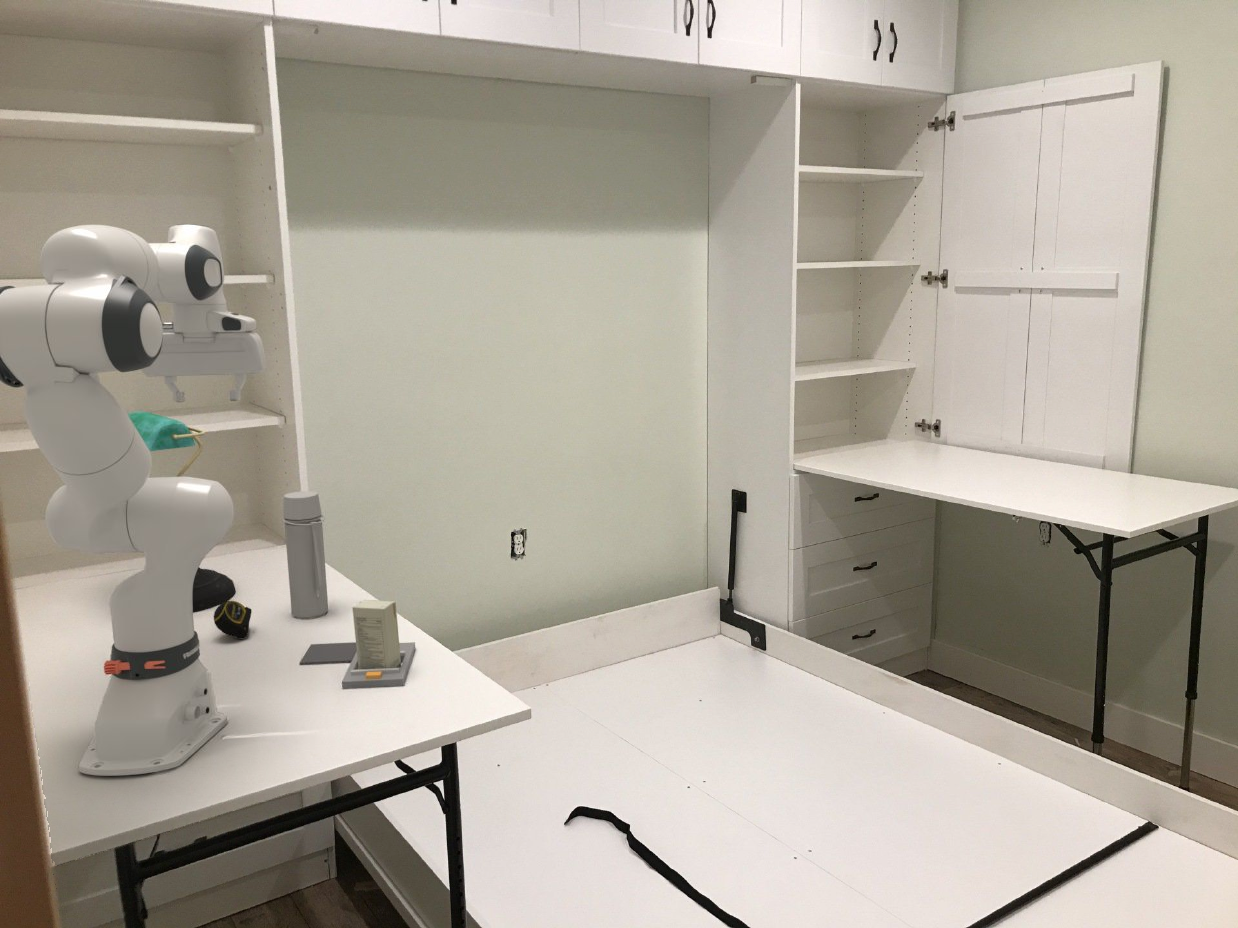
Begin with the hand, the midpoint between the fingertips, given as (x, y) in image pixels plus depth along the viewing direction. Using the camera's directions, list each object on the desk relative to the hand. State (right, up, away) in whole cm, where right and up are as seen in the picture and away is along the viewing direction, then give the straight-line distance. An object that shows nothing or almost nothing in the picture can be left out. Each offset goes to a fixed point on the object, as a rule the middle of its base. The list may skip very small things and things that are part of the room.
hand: (207, 401), depth 172 cm
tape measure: (-1, -44, +16) cm, 47 cm away
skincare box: (+31, -47, -2) cm, 56 cm away
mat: (+20, -46, +6) cm, 50 cm away
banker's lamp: (-22, -40, +38) cm, 60 cm away
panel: (+30, -47, -1) cm, 56 cm away
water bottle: (+10, -42, +27) cm, 51 cm away
